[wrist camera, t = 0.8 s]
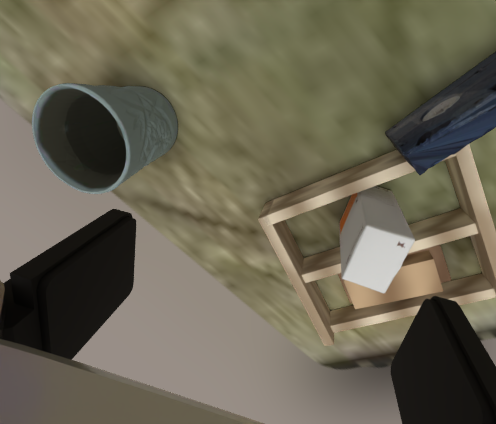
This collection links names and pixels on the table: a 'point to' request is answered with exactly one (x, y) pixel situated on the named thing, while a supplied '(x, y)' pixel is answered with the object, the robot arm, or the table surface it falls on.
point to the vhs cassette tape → (449, 119)
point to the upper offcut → (401, 283)
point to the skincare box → (373, 239)
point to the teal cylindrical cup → (101, 133)
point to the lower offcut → (438, 260)
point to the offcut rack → (426, 235)
